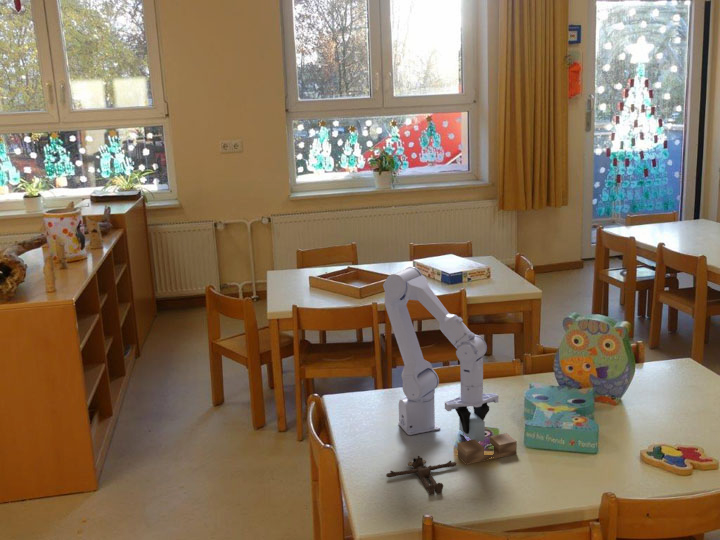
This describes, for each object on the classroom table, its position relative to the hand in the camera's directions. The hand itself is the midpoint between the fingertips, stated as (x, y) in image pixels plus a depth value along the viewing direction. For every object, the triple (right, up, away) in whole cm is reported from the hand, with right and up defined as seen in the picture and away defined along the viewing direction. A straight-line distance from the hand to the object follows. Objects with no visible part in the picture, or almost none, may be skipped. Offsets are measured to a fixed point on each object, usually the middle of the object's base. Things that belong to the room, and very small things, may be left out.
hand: (471, 431), depth 198 cm
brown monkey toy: (-14, -8, -17) cm, 24 cm away
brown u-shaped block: (+3, -4, -7) cm, 9 cm away
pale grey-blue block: (0, -3, +1) cm, 3 cm away
